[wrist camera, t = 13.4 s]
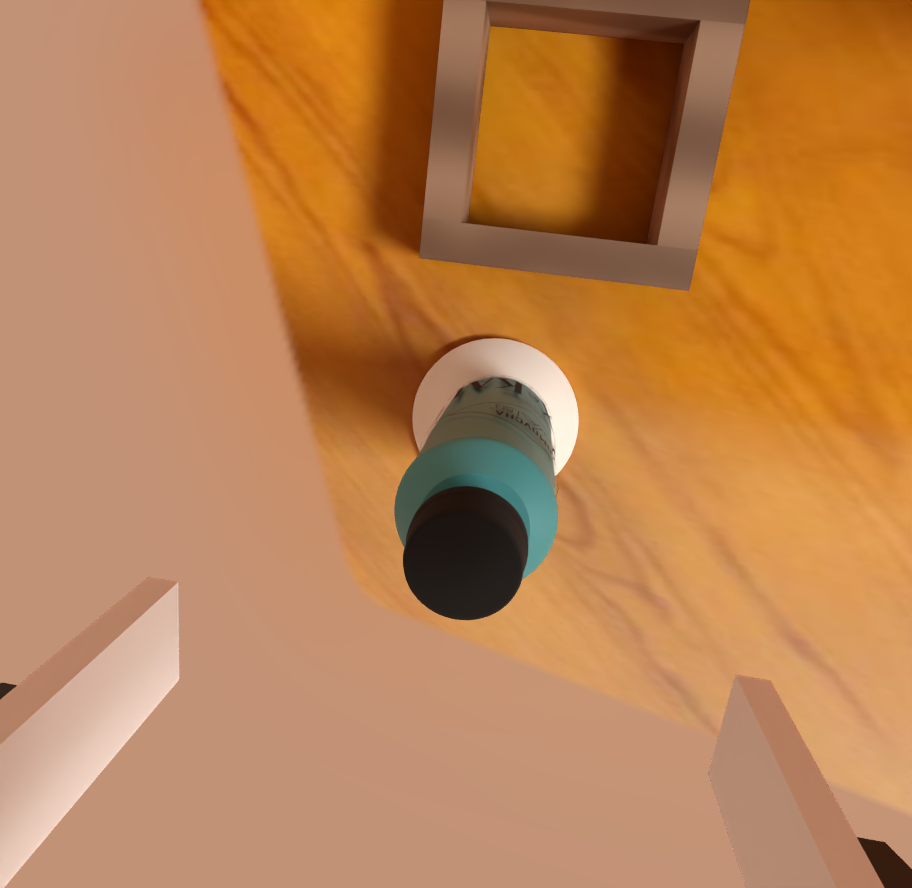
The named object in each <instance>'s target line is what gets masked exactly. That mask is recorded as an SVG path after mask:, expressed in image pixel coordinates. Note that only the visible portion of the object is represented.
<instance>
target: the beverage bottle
mask: <svg viewBox="0 0 912 888" xmlns="http://www.w3.org/2000/svg"><path fill="white" fill-rule="evenodd" d="M488 376H490V375H488ZM502 376H505V375H502ZM509 377H510V376H509ZM482 378H483V379H480V378H479V379H480V380H477V379H475V380H477V381H474V379H473V381H474V382H472V381H471V382H472V383H470V382H469V384H468V385H467V386H466V385H465V387H462V388H461V389H460V388H459V389H457V390H458V392H457V394H456V395H455V396H454V398H453V399H452V400H451V401H450V403H449V405H448V406H447V408H446V407H445V408H446V410H444V413H443V414H442V416H440V419H439V420H438V422H437V420H436V422H437V423H436V422H435V424H436V425H435V427H434V428H433V430H432V429H431V433H430V434H428V435H429V436H428V438H427V440H426V442H425V444H424V446H423V448H422V449H421V448H420V449H421V451H420V453H419V454H418V456H417V458H416V459H415V460H414V461H413V463H412V464H411V465H410V466H409V468H408V469H407V471H406V472H405V474H404V476H403V478H402V480H401V482H400V485H399V487H398V491H397V494H396V499H395V522H396V527H397V531H398V534H399V537H400V539H401V541H402V544H403V546H404V547H405V549H404V554H403V567H404V573H405V577H406V580H407V583H408V585H409V587H410V589H411V591H412V592H413V594H414V595H415V596H416V598H417V599H418V600H419V601H420V602H421V603H422V604H424V605H425V606H426V607H427V608H429V609H430V610H432V611H433V612H435V613H437V614H439V615H442V616H445V617H448V618H452V619H458V620H475V619H480V618H484V617H487V616H490V615H492V614H494V613H496V612H498V611H499V610H501V609H502V608H503V607H504V606H506V605H507V604H508V603H509V602H510V601H511V599H512V598H513V597H514V595H515V594H516V592H517V590H518V588H519V586H520V584H521V581H522V579H523V578H525V577H526V576H528V575H529V574H530V573H532V572H533V571H534V570H535V569H536V568H537V567H538V566H539V565H540V564H541V563H542V561H543V560H544V559H545V557H546V556H547V554H548V552H549V550H550V549H551V547H552V544H553V541H554V539H555V535H556V531H557V524H558V506H557V501H556V496H555V474H554V473H556V472H554V463H553V459H554V461H555V458H553V457H554V456H555V450H554V448H553V449H552V447H553V444H554V443H553V442H552V438H551V432H552V431H553V429H552V431H551V428H552V425H550V424H551V421H550V418H551V417H550V416H549V415H548V412H547V409H546V407H545V404H544V403H546V402H544V403H543V401H542V400H544V399H542V398H541V399H542V400H541V399H540V398H539V397H538V396H537V395H536V393H535V392H533V391H532V390H531V389H532V388H531V389H530V388H529V386H530V385H529V386H528V385H527V386H528V387H527V386H526V384H527V383H526V384H525V385H524V384H522V383H520V381H519V382H518V381H516V380H515V379H514V380H513V379H512V378H510V379H509V378H508V377H507V378H505V377H501V376H500V377H499V376H498V377H497V376H496V377H495V376H494V377H492V376H491V377H489V378H484V377H483V376H482ZM462 386H463V385H462ZM457 390H456V391H457ZM534 390H535V389H534ZM456 391H455V392H456ZM535 391H536V390H535ZM455 392H454V393H455ZM538 394H539V393H538ZM539 395H540V394H539ZM451 397H452V396H451ZM546 406H547V405H546ZM443 408H444V407H443ZM445 408H444V409H445ZM548 410H549V409H548ZM441 411H443V409H442V410H441ZM549 412H550V411H549ZM440 413H441V412H440ZM440 413H439V414H440ZM438 416H439V415H438ZM438 416H437V417H438ZM549 417H550V418H549ZM436 419H437V418H436ZM432 424H433V423H432ZM433 425H434V424H433ZM432 427H433V426H432ZM430 428H431V426H430ZM430 428H429V429H430ZM553 428H554V427H553ZM553 436H554V435H553ZM553 440H554V441H555V438H554V439H553ZM552 443H553V444H552ZM421 444H422V443H421ZM553 451H554V456H553ZM555 467H556V466H555ZM555 471H556V470H555ZM557 484H558V483H557ZM558 488H559V487H558ZM556 492H557V491H556ZM557 493H558V492H557Z"/></svg>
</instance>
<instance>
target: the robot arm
mask: <svg viewBox="0 0 912 888" xmlns="http://www.w3.org/2000/svg"><path fill="white" fill-rule="evenodd" d="M178 607H179V605H178V582H175V581H169V580H163V579H157V578H151V577H148V578H146V579H145V580H144V581H143V582H142V583H140V584H139V585H138V586H137V587H136V588H134V589H133V590H132V591H131V592H130V593H128V594H127V595H126V596H125V597H124V598H122V599H121V600H120V601H119V602H117V603H116V604H115V605H114V606H113V607H111V608H110V609H109V610H108V611H107V612H105V613H104V614H103V615H102V616H101V617H99V618H98V619H97V620H96V621H95V622H93V623H92V624H91V625H90V626H89V627H87V628H86V629H85V630H84V631H82V632H81V633H80V634H79V635H78V636H77V637H75V638H74V639H73V640H72V641H70V642H69V643H68V644H67V645H66V646H65V647H63V648H62V649H61V650H60V651H58V652H57V653H56V654H55V655H54V656H52V657H51V658H50V659H49V660H47V661H46V662H45V663H44V664H43V665H41V666H40V667H39V668H38V669H37V670H35V671H34V672H33V673H32V674H31V675H29V676H28V677H27V678H26V679H25V680H23V681H22V682H21V683H20V684H19V685H12V684H7V683H0V888H4V887H5V886H6V885H7V883H8V882H9V881H10V880H11V878H12V877H13V876H14V875H15V874H16V873H17V871H18V870H19V869H20V868H21V867H22V865H23V864H24V863H25V862H26V861H27V860H28V858H29V857H30V856H31V855H32V854H33V852H34V851H35V850H36V849H37V848H38V846H39V845H40V844H41V843H42V842H43V840H44V839H45V838H46V837H47V836H48V835H49V833H50V832H51V831H52V830H53V829H54V827H55V826H56V825H57V824H58V823H59V821H60V820H61V819H62V818H63V817H64V816H65V814H66V813H67V812H68V811H69V810H70V808H71V807H72V806H73V805H74V804H75V803H76V801H77V800H78V799H79V798H80V797H81V795H82V794H83V793H84V792H85V791H86V789H87V788H88V787H89V786H90V784H92V782H93V781H94V780H95V779H96V778H97V776H98V775H99V774H100V773H101V772H102V770H103V769H104V768H105V767H106V766H107V765H108V763H109V762H110V761H111V760H112V759H113V757H114V756H115V755H116V754H117V753H118V751H119V750H120V749H121V748H122V747H123V745H124V744H125V743H126V742H127V741H128V739H129V738H130V737H131V736H132V735H133V734H134V732H135V731H136V730H137V729H138V728H139V727H140V725H141V724H142V723H143V722H144V720H145V719H146V718H147V717H148V716H149V715H150V713H151V712H152V711H153V710H154V709H155V707H156V706H157V705H158V704H159V703H160V702H161V700H162V699H163V698H164V697H165V696H166V694H167V693H168V692H169V691H170V690H171V688H172V687H173V686H174V685H175V684H176V682H177V681H178V680H179V616H178V615H179V608H178ZM708 775H709V778H710V781H711V784H712V787H713V790H714V793H715V796H716V799H717V802H718V805H719V808H720V811H721V814H722V817H723V820H724V823H725V826H726V829H727V833H728V835H729V839H730V842H731V844H732V848H733V851H734V853H735V857H736V860H737V863H738V866H739V869H740V872H741V875H742V878H743V881H744V883H745V887H746V888H912V869H911V868H910V867H909V866H908V865H907V864H906V863H905V862H904V861H903V860H902V859H901V858H900V857H899V856H898V855H897V854H896V853H895V852H894V851H893V850H892V849H891V848H890V847H889V846H888V845H887V844H886V843H885V842H880V841H875V840H869V839H864V838H859V837H856V835H855V833H854V831H853V830H852V828H851V826H850V824H849V823H848V821H847V819H846V817H845V815H844V813H843V812H842V810H841V808H840V806H839V804H838V802H837V801H836V799H835V797H834V795H833V793H832V792H831V790H830V788H829V786H828V784H827V782H826V781H825V779H824V777H823V775H822V773H821V771H820V770H819V768H818V766H817V764H816V762H815V761H814V759H813V757H812V755H811V753H810V751H809V750H808V748H807V746H806V744H805V742H804V741H803V739H802V737H801V735H800V733H799V732H798V730H797V728H796V726H795V724H794V722H793V721H792V719H791V717H790V715H789V713H788V712H787V710H786V708H785V706H784V704H783V702H782V701H781V699H780V697H779V695H778V693H777V692H776V690H775V688H774V686H773V684H772V682H771V681H770V680H764V679H758V678H752V677H746V676H740V675H735V678H734V682H733V686H732V689H731V693H730V696H729V700H728V704H727V707H726V711H725V715H724V718H723V722H722V725H721V729H720V733H719V736H718V740H717V744H716V747H715V751H714V754H713V758H712V762H711V765H710V769H709V773H708Z"/></svg>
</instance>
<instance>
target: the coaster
mask: <svg viewBox="0 0 912 888" xmlns="http://www.w3.org/2000/svg"><path fill="white" fill-rule="evenodd" d="M488 375H490V376H488ZM502 375H505V376H502ZM482 376H483V377H484V378H489V377H491V376H492V377H494V376H495V377H496V376H497V377H498V376H499V377H500V376H501V377H505V378H507V377H508V378H509V379H510V378H512V379H513V380H514V379H515V380H516V381H518V382H519V381H520V383H522V384H524V385H525V384H526V383H527V384H526V386H527V385H528V386H529V385H530V386H529V388H530V389H531V388H532V389H531V390H532V391H533V392H535V393H536V395H537V396H538V397H539V398H540V399H541V398H542V399H544V400H542V399H541V400H542V401H543V403H544V402H546V403H544V404H545V407H546V409H547V412H548V415H549V416H550V417H551V418H550V417H549V418H550V421H551V424H550V425H552V428H551V431H552V429H553V431H552V432H551V438H552V442H553V443H554V444H553V443H552V444H553V447H552V449H553V448H554V450H555V456H554V451H553V456H554V457H553V458H555V461H554V459H553V463H554V472H556V473H554V474H555V476H556V475H557V474H558V473H559V472H560V470H561V469H562V468H563V466H564V465H565V464H566V462H567V460H568V459H569V457H570V455H571V453H572V450H573V448H574V445H575V442H576V438H577V433H578V424H579V422H578V409H577V403H576V399H575V396H574V393H573V390H572V388H571V385H570V383H569V381H568V379H567V378H566V376H565V375H564V373H563V372H562V370H561V369H560V368H559V367H558V366H557V365H556V363H555V362H554V361H552V360H551V359H550V358H549V357H548V356H547V355H545V354H544V353H542V352H541V351H539V350H538V349H536V348H534V347H532V346H530V345H528V344H525V343H522V342H519V341H516V340H511V339H506V338H484V339H479V340H474V341H471V342H468V343H465V344H462V345H460V346H458V347H456V348H454V349H452V350H451V351H449V352H448V353H446V354H445V355H444V356H443V357H441V358H440V359H439V360H438V361H437V362H436V363H435V364H434V365H433V366H432V368H431V369H430V370H429V371H428V372H427V374H426V375H425V377H424V379H423V380H422V382H421V384H420V386H419V388H418V391H417V394H416V397H415V400H414V406H413V418H412V423H413V432H414V436H415V440H416V444H417V446H418V449H419V452H420V451H421V449H422V448H423V446H424V444H425V442H426V440H427V438H428V436H429V435H428V434H430V433H431V429H432V430H433V428H434V427H435V425H436V424H435V422H436V420H437V422H438V420H439V419H440V416H442V414H443V413H444V410H446V408H447V406H448V405H449V403H450V401H451V400H452V399H453V398H454V396H455V395H456V394H457V392H458V390H457V389H459V388H460V389H461V388H462V387H465V385H466V386H467V385H468V384H469V382H470V383H472V382H474V381H477V380H480V379H483V378H482ZM509 376H510V377H509ZM479 378H480V379H479ZM473 379H474V381H473ZM475 379H477V380H475ZM471 381H472V382H471ZM462 385H463V386H462ZM528 386H527V387H528ZM534 389H535V390H536V391H535V390H534ZM456 390H457V391H456ZM455 391H456V392H455ZM454 392H455V393H454ZM538 393H539V394H540V395H539V394H538ZM451 396H452V397H451ZM546 405H547V406H546ZM443 407H444V408H445V407H446V408H445V409H444V408H443ZM442 409H443V411H441V410H442ZM548 409H549V410H548ZM549 411H550V412H549ZM440 412H441V413H440ZM439 413H440V414H439ZM438 415H439V416H438ZM437 416H438V417H437ZM436 418H437V419H436ZM437 422H436V423H437ZM432 423H433V424H434V425H433V424H432ZM430 426H431V428H430ZM432 426H433V427H432ZM553 427H554V428H553ZM429 428H430V429H429ZM553 435H554V436H553ZM554 438H555V441H554V440H553V439H554ZM421 443H422V444H421ZM420 448H421V449H420ZM555 466H556V467H555ZM555 470H556V471H555Z"/></svg>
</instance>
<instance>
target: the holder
mask: <svg viewBox="0 0 912 888" xmlns="http://www.w3.org/2000/svg"><path fill="white" fill-rule="evenodd" d="M749 4H750V0H444V2H443V13H442V23H441V34H440V44H439V55H438V65H437V76H436V86H435V97H434V107H433V118H432V128H431V139H430V149H429V160H428V170H427V181H426V191H425V202H424V212H423V223H422V233H421V244H420V254H419V258H422V259H431V260H439V261H447V262H455V263H464V264H472V265H480V266H488V267H497V268H505V269H513V270H521V271H530V272H538V273H546V274H554V275H563V276H571V277H579V278H587V279H596V280H604V281H612V282H620V283H629V284H637V285H645V286H653V287H662V288H670V289H678V290H686V291H689V289H690V284H691V280H692V275H693V270H694V265H695V261H696V256H697V251H698V246H699V242H700V237H701V232H702V227H703V223H704V218H705V213H706V208H707V203H708V199H709V194H710V189H711V184H712V180H713V175H714V170H715V165H716V161H717V156H718V151H719V146H720V142H721V137H722V132H723V127H724V123H725V118H726V113H727V108H728V104H729V99H730V94H731V89H732V84H733V80H734V75H735V70H736V65H737V61H738V56H739V51H740V46H741V42H742V37H743V32H744V27H745V23H746V18H747V13H748V8H749ZM490 26H499V27H509V28H520V29H531V30H541V31H552V32H563V33H573V34H584V35H595V36H605V37H616V38H627V39H638V40H648V41H659V42H670V43H680V44H684V47H683V52H682V58H681V63H680V68H679V74H678V79H677V84H676V90H675V95H674V100H673V105H672V111H671V116H670V121H669V127H668V132H667V137H666V143H665V148H664V153H663V159H662V164H661V169H660V174H659V180H658V185H657V190H656V196H655V201H654V206H653V212H652V217H651V222H650V228H649V233H648V238H647V243H646V244H640V243H632V242H623V241H614V240H606V239H597V238H589V237H580V236H572V235H563V234H554V233H546V232H537V231H529V230H520V229H512V228H503V227H494V226H486V225H477V224H469V223H468V217H469V209H470V200H471V191H472V182H473V173H474V165H475V156H476V147H477V138H478V129H479V121H480V112H481V103H482V94H483V85H484V77H485V68H486V59H487V50H488V41H489V33H490Z"/></svg>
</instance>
